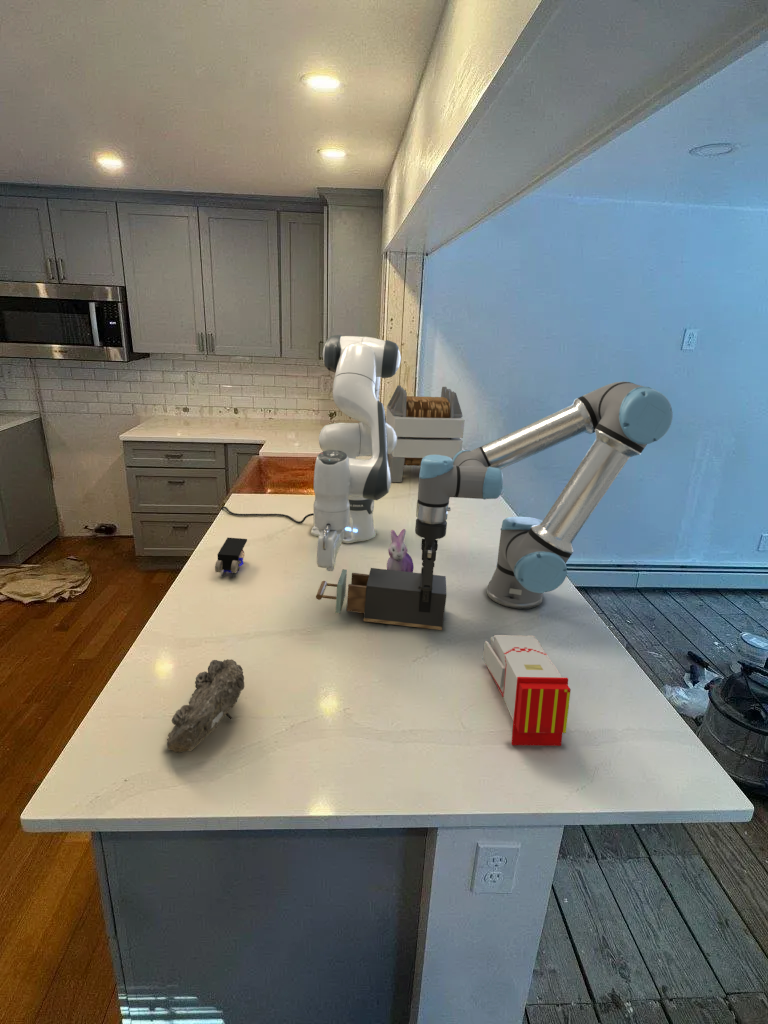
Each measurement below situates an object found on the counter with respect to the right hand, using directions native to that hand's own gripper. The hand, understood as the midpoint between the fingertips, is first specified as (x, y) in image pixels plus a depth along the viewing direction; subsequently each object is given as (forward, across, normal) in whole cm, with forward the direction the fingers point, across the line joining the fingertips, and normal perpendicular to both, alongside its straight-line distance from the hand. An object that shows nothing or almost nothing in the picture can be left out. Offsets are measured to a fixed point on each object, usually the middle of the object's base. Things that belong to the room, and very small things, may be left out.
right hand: (424, 600), depth 144 cm
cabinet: (+5, 0, +5) cm, 7 cm away
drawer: (+3, 0, +16) cm, 16 cm away
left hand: (-7, 0, +24) cm, 25 cm away
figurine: (+5, +22, +8) cm, 24 cm away
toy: (+5, -30, -20) cm, 36 cm away
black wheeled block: (+6, +19, +57) cm, 60 cm away
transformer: (+5, +137, +4) cm, 137 cm away
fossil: (+5, -43, +40) cm, 59 cm away
